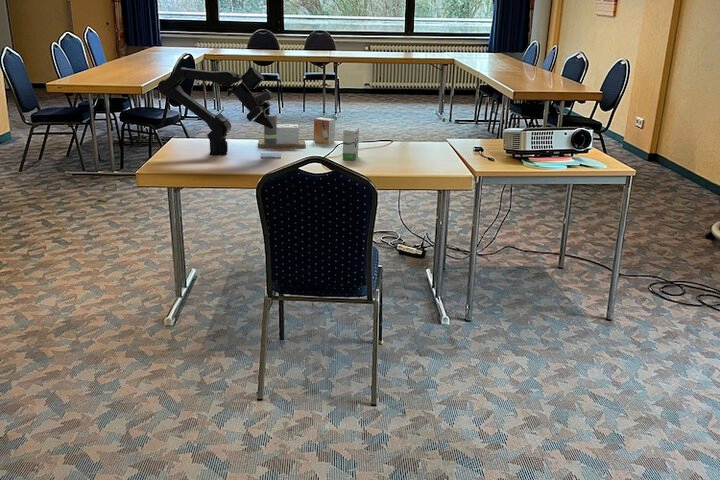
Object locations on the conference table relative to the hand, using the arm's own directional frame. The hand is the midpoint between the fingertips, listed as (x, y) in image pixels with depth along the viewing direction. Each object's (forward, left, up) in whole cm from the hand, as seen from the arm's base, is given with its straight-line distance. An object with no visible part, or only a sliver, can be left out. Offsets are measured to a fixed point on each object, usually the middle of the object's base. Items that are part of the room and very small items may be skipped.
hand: (273, 126), depth 274 cm
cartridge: (-1, 0, -7) cm, 7 cm away
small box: (+23, +30, -12) cm, 40 cm away
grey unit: (+4, +22, -12) cm, 26 cm away
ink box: (+31, -2, -12) cm, 33 cm away
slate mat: (-1, 0, -12) cm, 12 cm away
